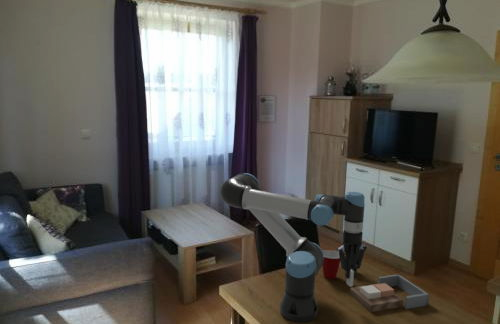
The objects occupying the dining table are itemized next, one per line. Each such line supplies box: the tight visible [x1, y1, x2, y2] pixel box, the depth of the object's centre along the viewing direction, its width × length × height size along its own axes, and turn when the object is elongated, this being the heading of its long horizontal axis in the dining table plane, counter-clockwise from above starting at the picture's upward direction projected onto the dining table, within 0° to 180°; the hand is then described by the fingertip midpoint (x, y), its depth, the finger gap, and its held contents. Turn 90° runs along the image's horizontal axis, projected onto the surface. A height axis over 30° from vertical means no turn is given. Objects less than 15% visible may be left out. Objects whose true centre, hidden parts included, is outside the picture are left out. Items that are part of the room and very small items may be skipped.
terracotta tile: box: [372, 283, 395, 297], centre depth 166 cm, size 6×6×2 cm
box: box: [377, 273, 430, 310], centre depth 169 cm, size 11×19×5 cm, turn 18°
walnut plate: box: [349, 283, 405, 313], centre depth 165 cm, size 16×15×3 cm
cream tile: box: [360, 284, 381, 299], centre depth 164 cm, size 6×6×2 cm
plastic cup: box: [321, 250, 341, 280], centre depth 185 cm, size 11×11×12 cm
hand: (349, 284), depth 159 cm, fingers closed
